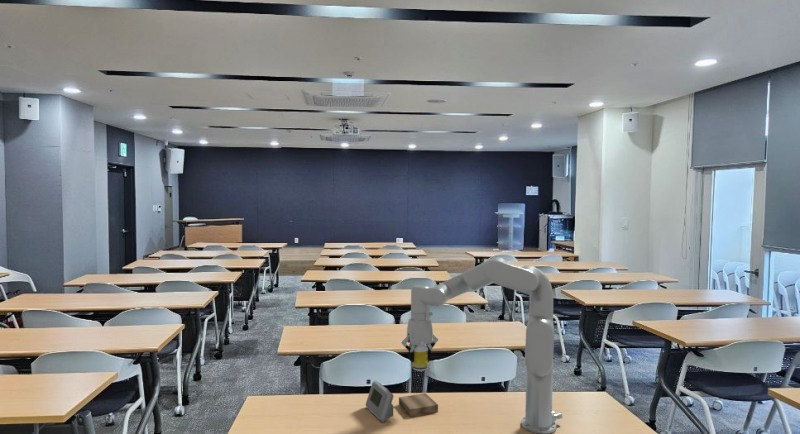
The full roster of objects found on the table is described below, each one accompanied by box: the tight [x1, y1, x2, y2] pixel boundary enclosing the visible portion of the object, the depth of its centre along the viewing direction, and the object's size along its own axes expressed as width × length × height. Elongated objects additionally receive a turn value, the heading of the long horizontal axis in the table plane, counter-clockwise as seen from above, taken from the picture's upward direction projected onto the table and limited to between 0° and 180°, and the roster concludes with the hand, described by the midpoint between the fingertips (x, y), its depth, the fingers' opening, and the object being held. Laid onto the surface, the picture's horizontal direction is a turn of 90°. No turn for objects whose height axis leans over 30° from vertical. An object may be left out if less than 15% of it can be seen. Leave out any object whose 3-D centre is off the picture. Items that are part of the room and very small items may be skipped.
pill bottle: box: [411, 342, 429, 372], centre depth 186 cm, size 6×6×12 cm
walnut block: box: [398, 392, 439, 418], centre depth 187 cm, size 12×12×3 cm
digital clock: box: [365, 380, 394, 423], centre depth 182 cm, size 16×9×11 cm, turn 16°
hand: (419, 359), depth 186 cm, fingers closed on pill bottle, 6 cm apart
